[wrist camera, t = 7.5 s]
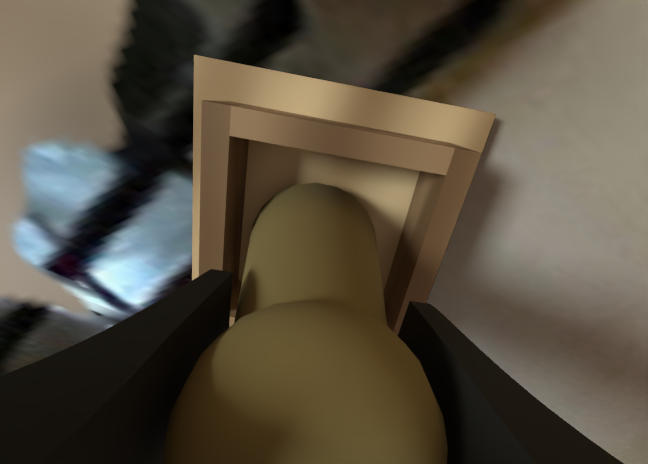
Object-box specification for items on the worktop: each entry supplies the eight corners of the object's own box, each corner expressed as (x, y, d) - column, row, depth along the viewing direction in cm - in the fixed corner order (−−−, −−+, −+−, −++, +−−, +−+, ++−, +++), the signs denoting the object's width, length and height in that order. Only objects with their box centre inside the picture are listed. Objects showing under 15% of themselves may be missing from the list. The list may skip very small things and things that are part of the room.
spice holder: (487, 113, 14) (540, 116, 10) (407, 334, 19) (425, 386, 15) (201, 57, 13) (155, 41, 10) (197, 301, 18) (166, 348, 15)
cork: (361, 166, 13) (504, 341, 3) (386, 282, 16) (521, 609, 5) (231, 202, 14) (-12, 454, 4) (273, 309, 16) (196, 659, 6)
